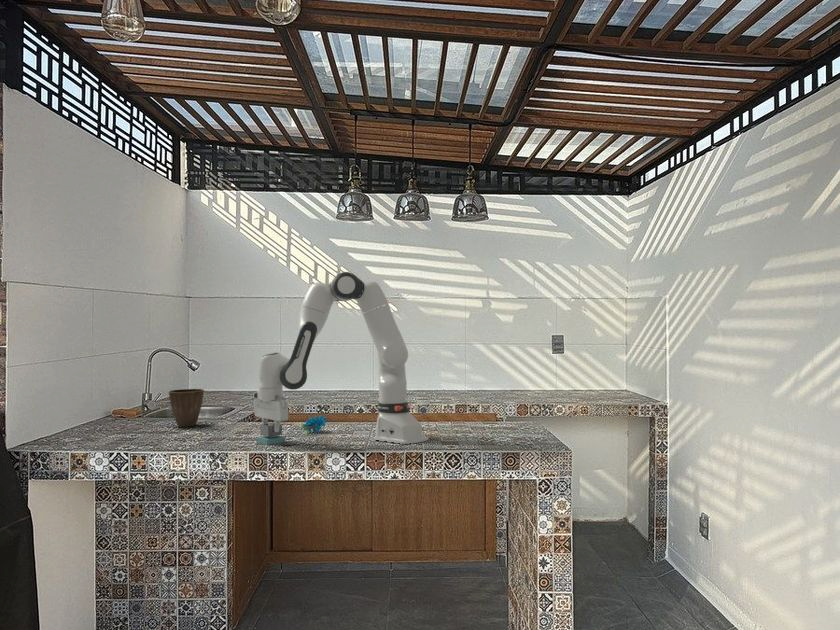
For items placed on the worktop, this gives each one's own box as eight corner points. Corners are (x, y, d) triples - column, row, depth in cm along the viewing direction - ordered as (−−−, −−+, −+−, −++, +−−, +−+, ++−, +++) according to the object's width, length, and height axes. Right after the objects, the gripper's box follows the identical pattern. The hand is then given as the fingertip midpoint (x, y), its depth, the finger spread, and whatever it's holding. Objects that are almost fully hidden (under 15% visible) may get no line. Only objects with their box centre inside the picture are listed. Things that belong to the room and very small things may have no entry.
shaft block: (285, 442, 251) (285, 424, 251) (266, 445, 246) (266, 426, 246) (274, 439, 257) (274, 421, 257) (256, 442, 252) (256, 424, 252)
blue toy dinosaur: (324, 425, 280) (327, 411, 273) (328, 437, 276) (331, 423, 270) (299, 431, 275) (301, 417, 269) (303, 442, 272) (305, 428, 265)
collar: (282, 434, 251) (281, 424, 251) (268, 436, 247) (268, 426, 247) (274, 432, 256) (273, 422, 256) (260, 434, 252) (260, 424, 252)
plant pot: (161, 428, 287) (161, 391, 287) (181, 422, 301) (181, 388, 301) (191, 429, 283) (191, 392, 283) (210, 423, 298) (210, 389, 298)
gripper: (292, 396, 246) (292, 432, 246) (265, 392, 261) (265, 426, 261) (277, 397, 242) (277, 434, 242) (250, 393, 257) (251, 428, 257)
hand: (271, 430), depth 252 cm, fingers closed on collar, 6 cm apart
